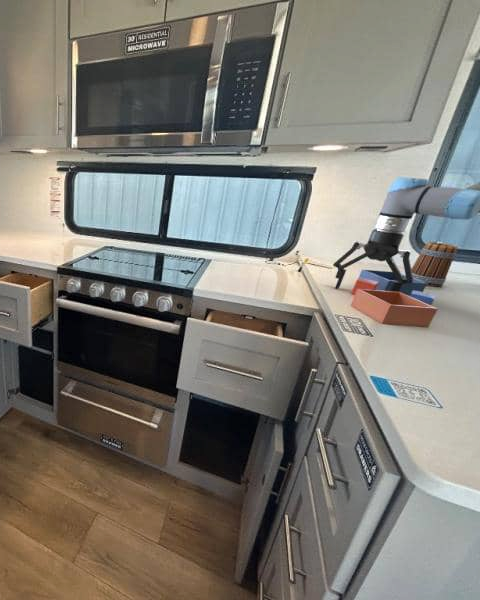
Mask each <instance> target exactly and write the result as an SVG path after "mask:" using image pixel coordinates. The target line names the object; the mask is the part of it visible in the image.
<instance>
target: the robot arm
mask: <svg viewBox="0 0 480 600" xmlns="http://www.w3.org/2000/svg"><path fill="white" fill-rule="evenodd" d="M428 183H429V179H427V178H420V177H419V178H417V177H402V176H401V177H397V178H395V179H394V180H393V182H392V183H391V186H390V188H389V190H388V191H387V193H386V197H385V199H384V202H383V205H382V207H381V210H380V212H379V214H378V217H377V219H376V222H375V223H374V225H373V227H374V229H373V230H372V231H371V233H370V235H369V238H368V241H367V242H366V243H363V242H361V241H355V242H354V243H353V245H352V247H351V248H350V249H349V250H347V252H345V253H344V254H343V255H342V256H341V257H340V258H338V260H336V261H334V263H333V264H332V266H333V267H335V268H336V269H337V271H336V274H335V279H338V280H337V282H336V284H335V287H334V289H336V290H338V289H340V287H341V285H342V282H343V280H344V277H345V275H346V272H347V268H348V267H350V266H351V265H353V264H355V263H357V262H359V261H361V260H363V259H366V258H368V259H369V260H372V261H373V260H376V261H379V262H386V264H387V265H388V267H389V268H390V271H391V272H393V274H394V276H395V277H396V279H397V281H395V282H394V284H393V286H392V288H391V291H394V292H399V291H400V289H401V287H402V285H403V284H404V283H412V282H413V275H412V270H411V269H412V266H411V261H410V256H411V252H412V251H411V250H410V249H407V250H402V249H400V245H401V243H402V241H403V238H404V237H405V234H404V233H406V231H407V229H408V227H409V226H410V223H411V221H412V219H413V216H414V214H417V215H425V216H433V217H439V218H446V219H450V220H465V221H467V220H471V219H473V218H474V217H475V216H477V214H478V215H479V214H480V181H479V182H476V183H474V184H472V185H470V186H468V187H464V188H453V187H452V188H451V187H435V186H430V185H428ZM361 248H363V250H364V253H362V254H361V255H358V256H356V257H354V258H353V259H351V260H349V261H347V262H346V263H344V264H342V263H343V262H344V261H345V260H346V259H347V258H349V257H350V256H351V255H352V254H353V253H355V252H356V251H357V250H360V249H361ZM397 255H399V257H400V258H401V259H402V264H403V270H404V275H406V278H403V276H402V274H403V273H402V272H401V271H400V269H399V267H398V266H397V264H396V261H395V259H394V258H393V257H394V256H397Z"/></svg>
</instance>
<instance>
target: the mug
mask: <svg viewBox="0 0 480 600" xmlns="http://www.w3.org/2000/svg"><path fill="white" fill-rule="evenodd" d="M457 251H458V245H455V244H451V243H444V242H441V241H437V242H436V241H427V242H426V243H425V244H424V246H423V247H422V249H421V251H420V253H419V255H418V257H417V259H416V260H415V262H414V263H413V266H411V270H412V275H413V278H414V279H417V280H419V281H422V282H425V283H427V285H426V287H436V288H437V287H442V286H443V285H444V284H445V282H446V279H447V275H448V273H449V271H450V268H451V266H452V264H453V261H454V259H455V257H456V255H457ZM428 285H430V286H428Z"/></svg>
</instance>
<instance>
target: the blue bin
mask: <svg viewBox="0 0 480 600" xmlns="http://www.w3.org/2000/svg"><path fill="white" fill-rule="evenodd" d="M401 274H402V276H403V278H406V275H405V274H403V273H401ZM359 278H365V279H369V280H373V281H378V285H377V287H376V289H375V290H381V291H391V288H392V286H393V284H394V282H395V281H397V279H396V277H395V276H394V274H393V272H392V271H391V270H390V271H388V270H375V269H361V271H360V273H359V276H358V278H357V280H358V279H359ZM426 288H427V283H425V282H422V281H419V280H417V279H414V278H413V282H412V283H404V284H403V285H402V287H401V289H400V291H399V292H401V293H403V294H405V295H408V296H410V295H411V293H412V291H413V290H415V291H419V292H424V291H425V289H426Z"/></svg>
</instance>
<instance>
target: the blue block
mask: <svg viewBox="0 0 480 600" xmlns="http://www.w3.org/2000/svg"><path fill="white" fill-rule="evenodd" d="M410 297H412V298H415V299H417V300H419V301H422V302H424V303H426V304H428V305H431V306H432V304H433V302H434V301H435V298H436V294H432V293H428V292H424V291H423V292H419V291H415V290H413V291H412V293H411V295H410Z"/></svg>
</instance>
